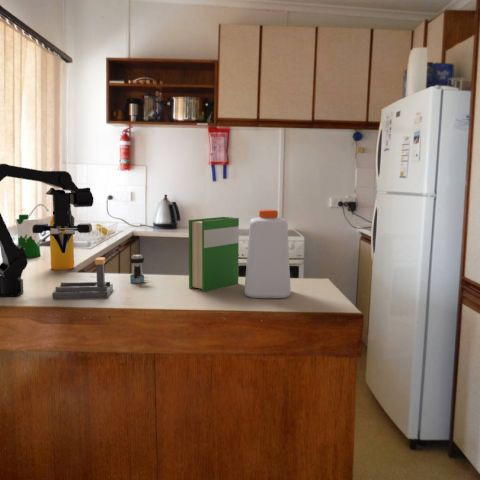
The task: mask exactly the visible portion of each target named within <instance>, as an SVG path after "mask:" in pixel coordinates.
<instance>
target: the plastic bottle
mask: <svg viewBox="0 0 480 480" xmlns="http://www.w3.org/2000/svg"><path fill="white" fill-rule="evenodd" d="M258 212H259V213H258V214H259V215H258V217H253V218H251V219H250V221H249V229H248V230H249V232H248V242H247V243H248V244H247V254H246V266H245V267H246V269H245V280H244V281H245V282H244V290H243V291H244V294H245V296H246V297H248V298H252V299H285V298H288V297H289V296H290V295H291V292H292V291H291V272H290V271H291V270H290V252H289V251H290V250H289V247H290V246H289V231H288V230H289V229H288V227H289V226H288V222H287V220H286V219H285V218H282V217H279V216H278V215H279V214H278V213H279V211H278V210H277V209H260V210H259V211H258Z"/></svg>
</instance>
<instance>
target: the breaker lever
mask: <svg viewBox="0 0 480 480" xmlns="http://www.w3.org/2000/svg"><path fill="white" fill-rule="evenodd" d="M105 263H106V257H105V256H102V257H98V256H97V257H96V258H95V259H94V265H96V282H97V284H96V285H95V286H107V282H108V281H106V278H105V274H106V273H105Z"/></svg>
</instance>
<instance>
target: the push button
mask: <svg viewBox="0 0 480 480" xmlns="http://www.w3.org/2000/svg"><path fill="white" fill-rule="evenodd" d="M144 260H145V257H143V254H132V255H131V257H129V261H130V264H131V272H132V273H131V275H130V279H129V280H130V283H131V284H139V283H141V282H143V283H144V282H145V281H148V279H149V277H148V276H147V277H145V275H144V273H143V263H144V262H145V261H144Z"/></svg>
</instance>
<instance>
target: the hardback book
mask: <svg viewBox="0 0 480 480" xmlns="http://www.w3.org/2000/svg"><path fill="white" fill-rule="evenodd" d="M239 219H240V218H239V217H232V216H231V217H229V216H220V217H219V216H216V217H207V218H195V219H194V218H193V219H188V289H189V290H190V289H191V290H193V289H197V288H198V289H201V291H202V292H203V293H205V292H209V291H213V290H217V289H221V288H225V287H230V286H235V285H238V284H239V246H240V245H239V237H240V235H239V233H240V232H239V231H240V230H239V228H240V227H239V225H240V220H239Z"/></svg>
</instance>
